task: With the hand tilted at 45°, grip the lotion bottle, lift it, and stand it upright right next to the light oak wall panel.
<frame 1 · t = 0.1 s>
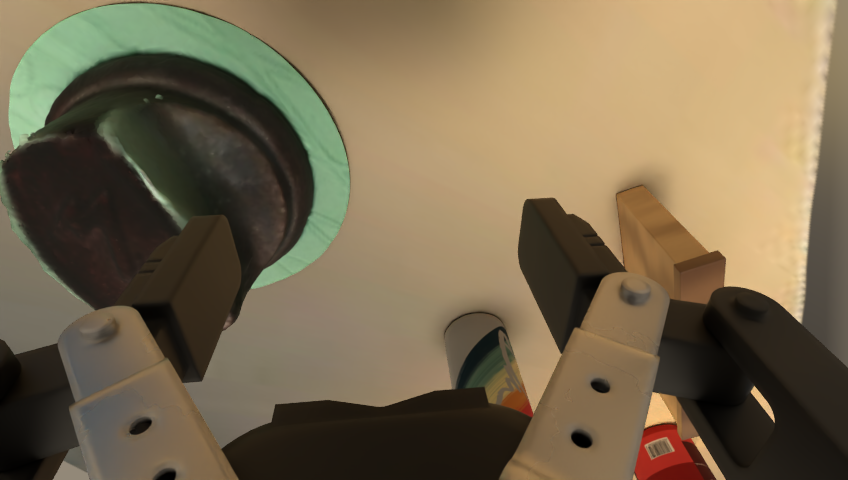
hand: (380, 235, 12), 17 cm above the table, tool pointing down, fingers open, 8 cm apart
canned food: (653, 438, 56), on the table
lotion bottle: (473, 331, 41), on the table
chocolate cake: (195, 173, 29), on the table
wall panel: (637, 280, 39), on the table
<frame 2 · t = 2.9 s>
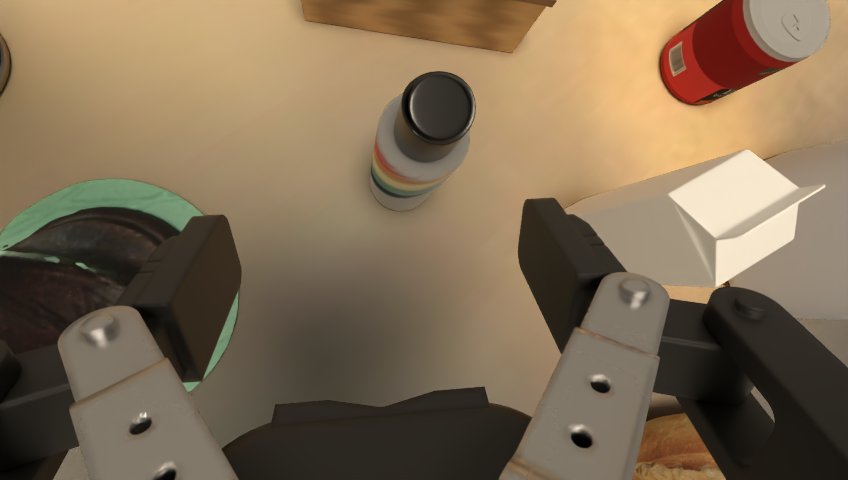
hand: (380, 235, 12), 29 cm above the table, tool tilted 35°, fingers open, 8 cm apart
canned food: (689, 71, 47), on the table
lotion bottle: (399, 182, 42), on the table
plastic bottle: (768, 233, 48), on the table
chocolate cake: (114, 298, 37), on the table
milk: (571, 238, 44), on the table
bread roll: (663, 449, 44), on the table
wall panel: (413, 27, 43), on the table
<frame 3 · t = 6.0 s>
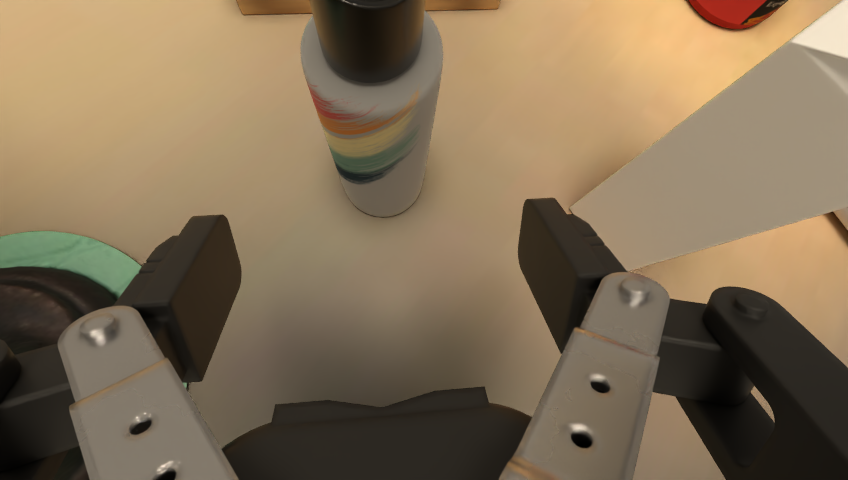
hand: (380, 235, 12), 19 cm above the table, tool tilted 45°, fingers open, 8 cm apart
lotion bottle: (383, 181, 32), on the table
chocolate cake: (25, 389, 28), on the table
milk: (622, 217, 33), on the table
wall panel: (372, 1, 35), on the table
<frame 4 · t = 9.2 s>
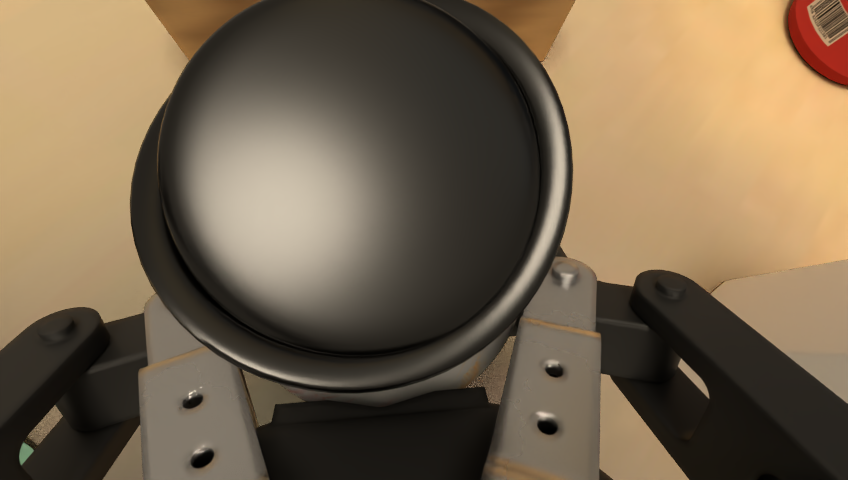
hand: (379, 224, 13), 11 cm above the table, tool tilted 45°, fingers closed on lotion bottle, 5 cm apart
canned food: (839, 37, 29), on the table
lotion bottle: (389, 310, 23), on the table, touching gripper
milk: (722, 359, 24), on the table
wall panel: (374, 50, 26), on the table
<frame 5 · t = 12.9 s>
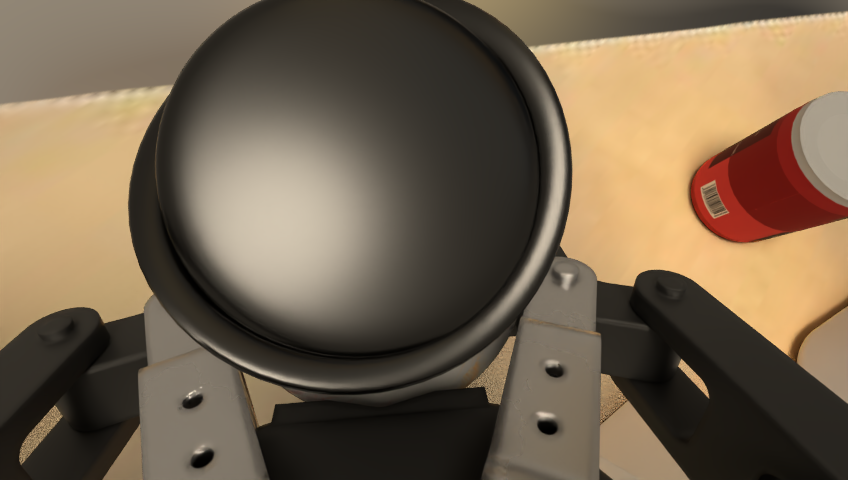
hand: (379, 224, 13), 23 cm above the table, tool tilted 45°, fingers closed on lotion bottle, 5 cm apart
canned food: (729, 200, 39), on the table
lotion bottle: (389, 310, 23), point 12 cm above the table, touching gripper
milk: (631, 450, 34), on the table
when the fingers open (11 cm above the table, at t = 16.9 s): lotion bottle stays where it is, on the table.
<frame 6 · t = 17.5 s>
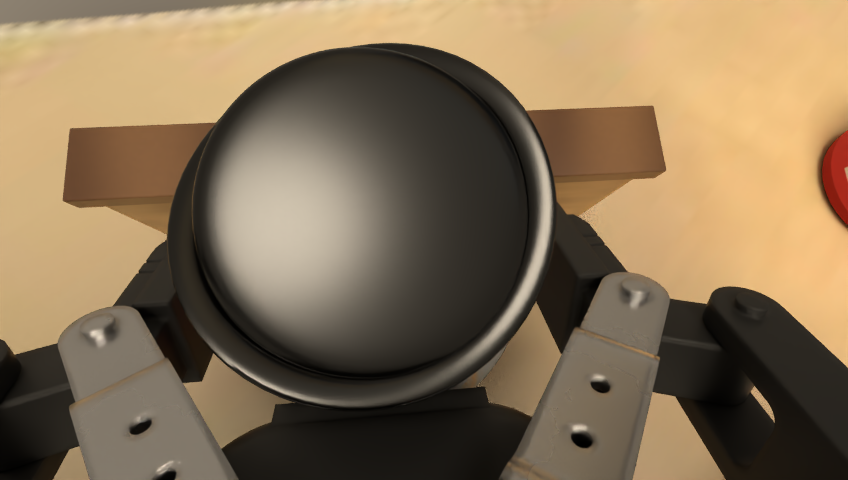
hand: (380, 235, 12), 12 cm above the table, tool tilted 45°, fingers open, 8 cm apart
lotion bottle: (391, 314, 24), on the table
wall panel: (384, 219, 25), on the table
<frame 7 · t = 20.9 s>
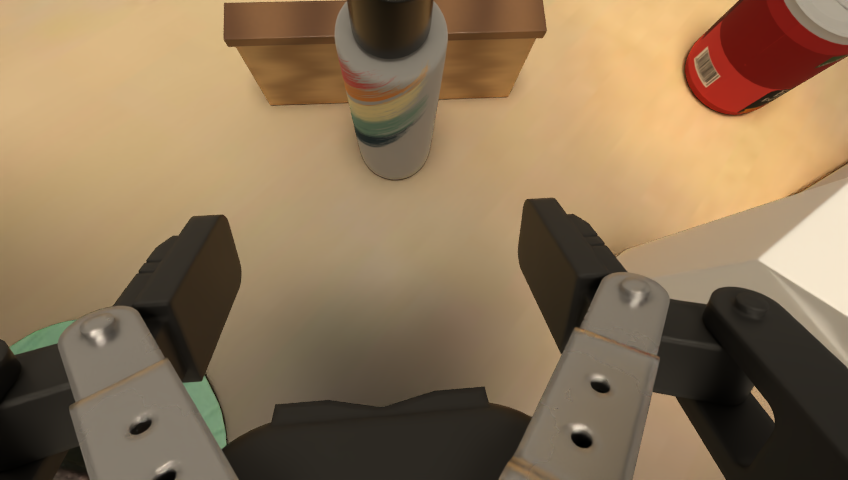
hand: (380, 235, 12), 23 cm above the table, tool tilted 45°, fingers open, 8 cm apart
canned food: (722, 77, 40), on the table
lotion bottle: (395, 149, 37), on the table
chocolate cake: (83, 462, 32), on the table
milk: (621, 300, 36), on the table
wall panel: (390, 90, 38), on the table
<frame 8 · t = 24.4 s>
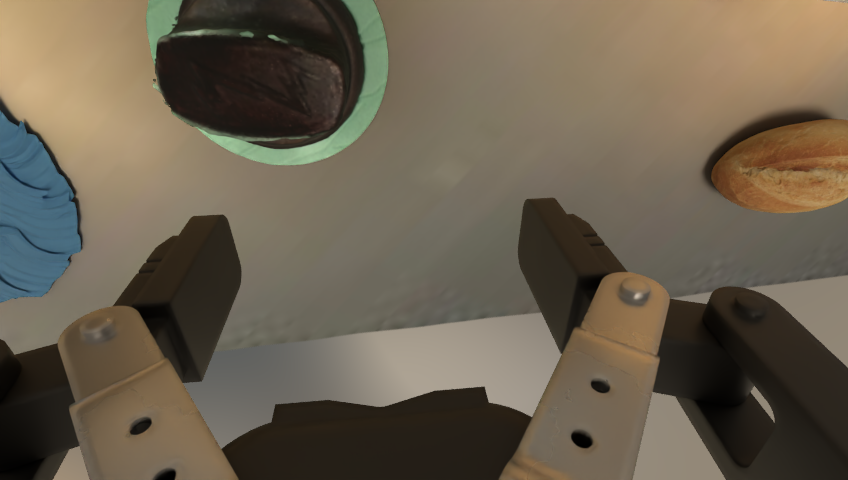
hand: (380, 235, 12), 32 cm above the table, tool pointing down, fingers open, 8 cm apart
chocolate cake: (273, 57, 39), on the table
bread roll: (768, 152, 49), on the table
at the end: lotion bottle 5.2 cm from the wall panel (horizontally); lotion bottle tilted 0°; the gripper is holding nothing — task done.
